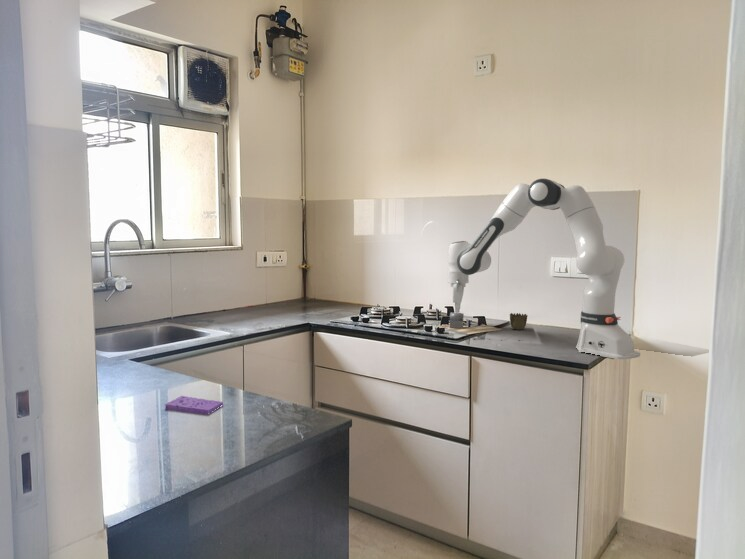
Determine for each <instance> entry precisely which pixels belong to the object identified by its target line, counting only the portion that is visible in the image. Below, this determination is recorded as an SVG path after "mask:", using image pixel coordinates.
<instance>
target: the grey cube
mask: <svg viewBox="0 0 745 559" xmlns="http://www.w3.org/2000/svg"><path fill="white" fill-rule="evenodd" d="M464 316H465V315H464V313H463V312H450V313H449V325H450V328H455V329H463V323H464Z"/></svg>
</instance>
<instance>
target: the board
mask: <svg viewBox="0 0 745 559" xmlns="http://www.w3.org/2000/svg"><path fill="white" fill-rule="evenodd" d="M482 325H483V326H479V327H463V329H455V328H450V324H442V325H437V326H436V328H437V327H439V328H442V329H443V328H444V329H446V330H451V331H454V332H458V333H463V334H467V335H471V334H472V335H474V334H480V333H485V332H494V331H495V332H496V331H501V330H503V329H502V328H500V327H499V328H498V327H494V326H492V325H491V326H490V325H485V324H482Z"/></svg>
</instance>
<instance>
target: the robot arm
mask: <svg viewBox="0 0 745 559" xmlns="http://www.w3.org/2000/svg"><path fill="white" fill-rule="evenodd" d="M535 207H539V208H542V209H544V210H552V211H554V210H555V211H556V210H559V209H560V210H561V211H562V213H563V215H564V217H565V219H566V223H567V224H568V225H567V226H568V227H569V229H570V232H571V235H572V237H573V240H574V244H575V246H574V247H575V249H576V256H577V257H576V259H575V260H576V262H575V263H576V267H577V269H578V271H579V272H580V273H581V274H583V275H585V276H587V277H588V279H587V282H586V285H585V287H584V290H583V292H582V293H583V295H582V311H581V312H580V331H579V336H578V339H577V344H576V345H575V349H576V348H577V349H576V350H577V351H578V353H581V352H585V353H584V354H586V353H591V354H590V355H592V354H595V355H594V356H597V355H600V356H599V357H604V358H610V359H615V360H631V359H636V358H640V356H641V352H640V351H637V350H635V345H634V340H633V338H632V336H631V335H630V334H628V333H627V332H626V331H625V330H624V329H623V328H622V327H621V326H620V325H619V322H618V321H621V316H616V313H615V306H616V305H615V304H616V303H615V302H616V292H617V287H618V284H619V281H620V280H619V279H620V275H621V270H622V268H623V266H624V263H625V256H624V253H623V251H621V250H620V249H618V248H617V247H614V246H612V245H606V242H605V237H604V224H603V223H602V220H601V218H600V216H599V214H598V211H597V209H596V207H595V205H594V202H593V200H592V199H591V197H590V196H589V194H588V192H587V191H586V190H585V189H584V187H583V186H580V185H571V186H567V187H565V186H564V185H562V184H561V183H558V181H555V180H552V179H548V178H538V179H536V180H535V179H534V181H532V183H530V184H528V183H518V184H516V185H515V186H514V187H513V188H512V189H511V190H510V192H509V193H508V194H507V195H506V196H505V197H504V199H503V200H502V201H501V203H500V204H499V206H498V208H497V209H496V211H495V212H494V214H493V215H492V217H491V218H490V220H489V221H488V223H487V224H486V226H484V228H483V229H482V231H481V232H480V233H479V234H478V236H477V237H476V238H475V240H473V242H472V243H471V244H470V243H469V242H468V241H466V240H462V241H454V242H452V243H451V244H450V245H449V247H448V252H447V253H448V254H447V256H448V257H447V262H448V268H447V269H448V270H447V283H448V284H450V287H451V288H452V303H454V313H460V309H461V303H462V301H463V296H464V292H465V288H466V284H469V278H470V277H469V276H471V275H474V274H476V273H481V272H485V271H486V270H488V268H490V266H491V264H492V257H491V255H490V253H489V251H488V250H489V248H490V247H491V246H492V244H494V243H495V241H496V240H497V239H498V238H500V237H501V236H503V235H504V234H507V233H510V232H512V231H514V230H515V229H516V228H517V227H519V225H520V224H522V222H523V220H524V219H525V218H526V217H527V215H528V213H529V212H530V211H531V210H532V209H533V208H535Z"/></svg>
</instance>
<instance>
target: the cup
mask: <svg viewBox="0 0 745 559" xmlns="http://www.w3.org/2000/svg"><path fill="white" fill-rule="evenodd" d="M527 320H528V314H526V313H522V314H521V313H520V312H519V313H512V312H511V313H509V322H510V326H511V328H512V329H513V330H516V331H522V330H523V329H525V328H526V326H527Z"/></svg>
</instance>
